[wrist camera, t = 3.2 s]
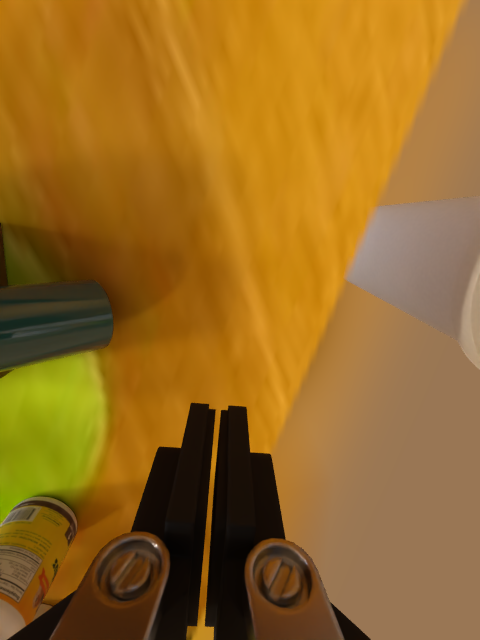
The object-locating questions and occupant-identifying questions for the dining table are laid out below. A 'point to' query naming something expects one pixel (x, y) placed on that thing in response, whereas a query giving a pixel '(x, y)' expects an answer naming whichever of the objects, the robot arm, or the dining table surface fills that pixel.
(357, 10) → the dining table surface
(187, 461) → the robot arm
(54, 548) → the supplement bottle
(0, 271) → the box
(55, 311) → the cylinder
